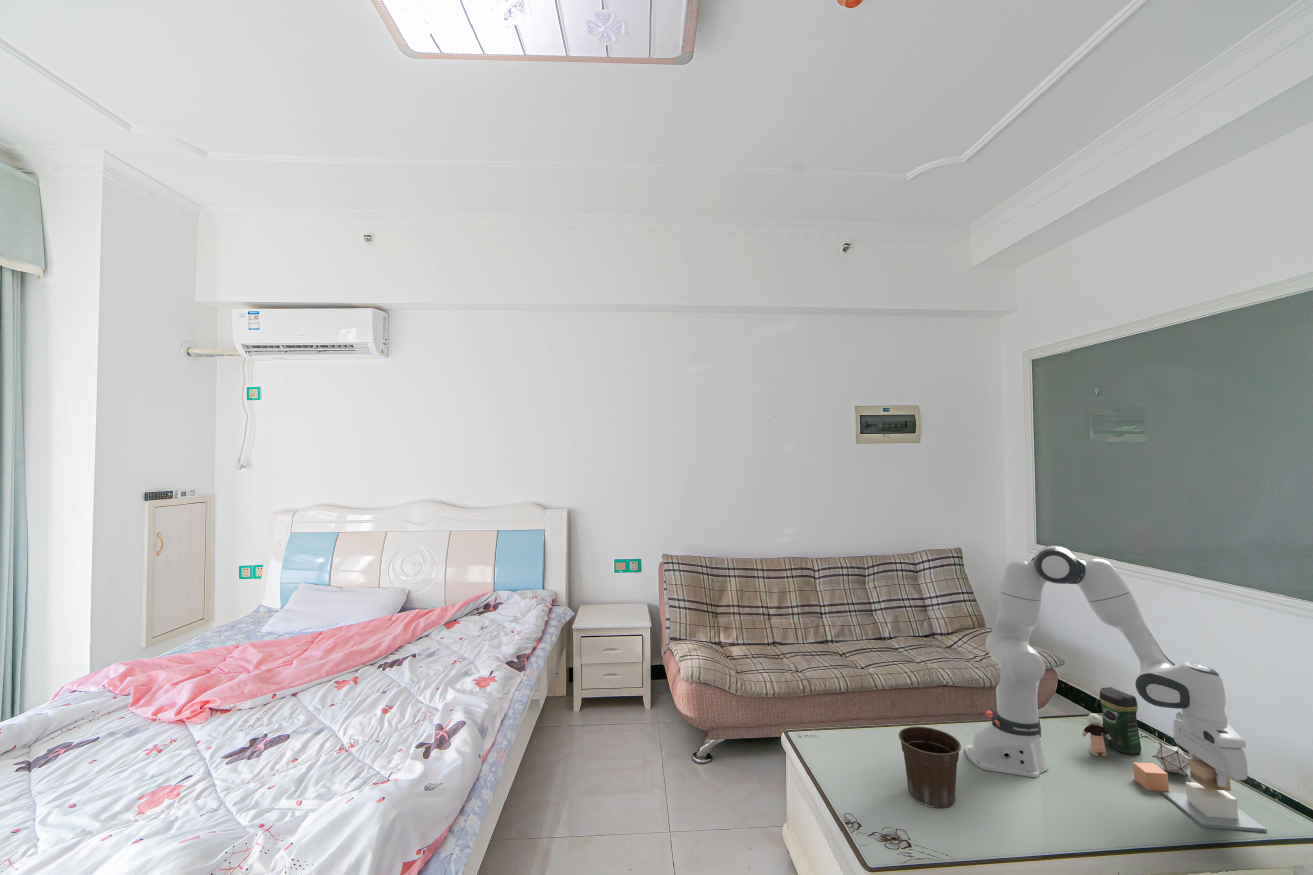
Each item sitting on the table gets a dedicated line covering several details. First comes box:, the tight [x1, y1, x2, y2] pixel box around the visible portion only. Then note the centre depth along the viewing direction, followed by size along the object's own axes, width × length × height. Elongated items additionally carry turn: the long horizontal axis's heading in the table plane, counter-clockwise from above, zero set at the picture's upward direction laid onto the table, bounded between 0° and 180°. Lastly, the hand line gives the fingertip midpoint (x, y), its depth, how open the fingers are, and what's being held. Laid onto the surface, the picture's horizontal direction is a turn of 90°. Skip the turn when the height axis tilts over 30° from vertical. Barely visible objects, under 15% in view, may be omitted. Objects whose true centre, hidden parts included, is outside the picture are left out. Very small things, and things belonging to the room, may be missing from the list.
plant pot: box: [898, 726, 962, 809], centre depth 159 cm, size 16×16×16 cm
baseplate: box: [1162, 781, 1268, 833], centre depth 148 cm, size 14×14×6 cm
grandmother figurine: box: [1081, 712, 1111, 757], centre depth 178 cm, size 8×4×13 cm, turn 84°
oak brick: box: [1189, 758, 1232, 792], centre depth 148 cm, size 6×6×5 cm
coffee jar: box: [1098, 686, 1142, 755], centre depth 182 cm, size 10×8×19 cm
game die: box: [1151, 742, 1190, 777], centre depth 167 cm, size 9×8×10 cm
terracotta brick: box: [1132, 762, 1170, 792], centre depth 161 cm, size 6×6×5 cm
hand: (1209, 777), depth 148 cm, fingers closed on oak brick, 5 cm apart
